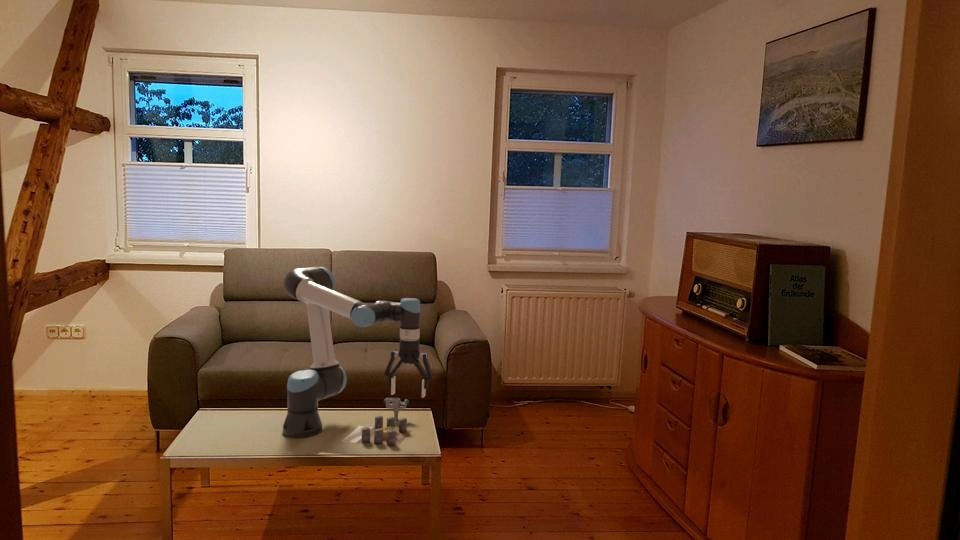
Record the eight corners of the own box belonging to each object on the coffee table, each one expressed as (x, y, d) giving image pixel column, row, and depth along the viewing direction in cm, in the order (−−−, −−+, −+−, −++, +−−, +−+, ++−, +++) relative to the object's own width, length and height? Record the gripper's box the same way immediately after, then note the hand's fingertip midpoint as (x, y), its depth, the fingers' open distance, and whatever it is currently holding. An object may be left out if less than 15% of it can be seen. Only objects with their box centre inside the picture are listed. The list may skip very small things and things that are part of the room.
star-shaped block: (375, 439, 233) (375, 431, 233) (381, 432, 239) (382, 425, 239) (392, 440, 232) (392, 433, 231) (398, 434, 238) (398, 427, 238)
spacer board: (341, 443, 230) (341, 428, 229) (359, 427, 247) (359, 413, 247) (397, 449, 226) (397, 434, 225) (411, 433, 243) (411, 418, 243)
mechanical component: (407, 423, 254) (408, 400, 253) (383, 422, 254) (383, 399, 253) (408, 421, 257) (409, 398, 256) (384, 420, 257) (384, 397, 256)
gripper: (376, 338, 229) (375, 395, 231) (437, 343, 225) (435, 400, 227) (383, 335, 237) (381, 389, 239) (442, 339, 232) (440, 395, 234)
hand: (408, 395), depth 233 cm, fingers open, 11 cm apart
